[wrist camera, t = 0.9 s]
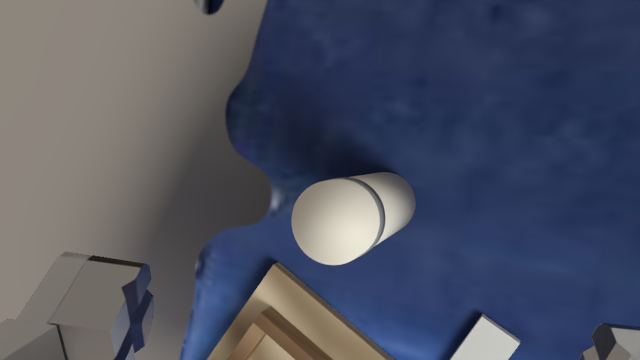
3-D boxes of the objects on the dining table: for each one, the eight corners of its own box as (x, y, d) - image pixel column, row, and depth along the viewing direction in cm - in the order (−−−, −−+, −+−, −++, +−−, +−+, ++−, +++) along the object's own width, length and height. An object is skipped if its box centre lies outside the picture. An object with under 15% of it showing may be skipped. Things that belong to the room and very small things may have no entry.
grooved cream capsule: (378, 158, 43) (321, 162, 31) (428, 196, 42) (391, 215, 30) (343, 208, 45) (275, 229, 32) (391, 246, 43) (340, 283, 31)
